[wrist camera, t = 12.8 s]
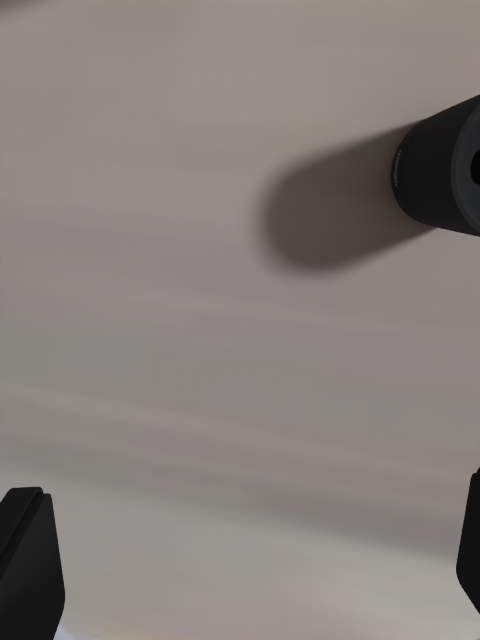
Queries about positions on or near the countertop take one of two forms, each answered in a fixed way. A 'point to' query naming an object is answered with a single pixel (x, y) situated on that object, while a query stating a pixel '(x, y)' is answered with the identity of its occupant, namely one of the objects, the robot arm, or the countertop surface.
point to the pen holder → (442, 169)
